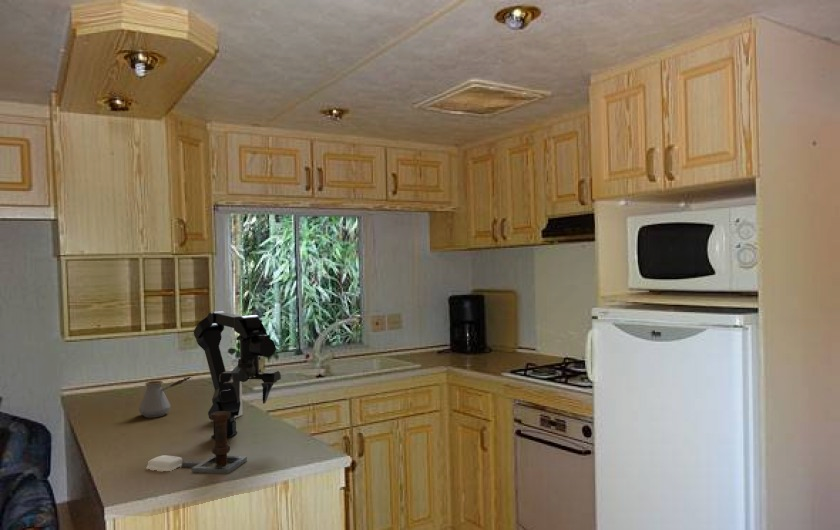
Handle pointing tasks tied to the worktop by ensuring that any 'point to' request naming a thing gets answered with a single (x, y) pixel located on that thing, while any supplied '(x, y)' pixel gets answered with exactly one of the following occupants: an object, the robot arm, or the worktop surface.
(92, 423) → the worktop surface
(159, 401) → the coffee pot
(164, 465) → the soap
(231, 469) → the socket plate
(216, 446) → the bolt
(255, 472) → the worktop surface
